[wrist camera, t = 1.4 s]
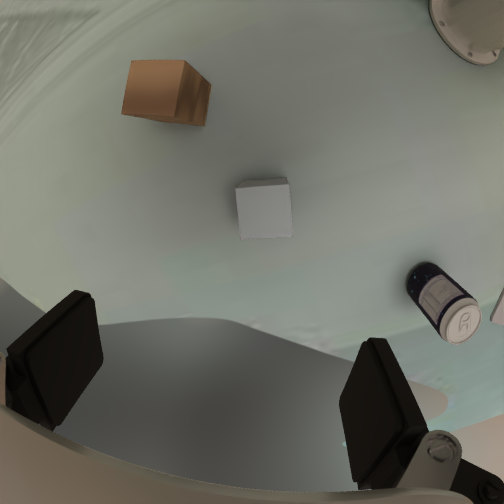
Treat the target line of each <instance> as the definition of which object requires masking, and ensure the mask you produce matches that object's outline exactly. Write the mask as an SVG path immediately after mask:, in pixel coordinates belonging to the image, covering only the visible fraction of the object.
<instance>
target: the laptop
mask: <svg viewBox="0 0 504 504" xmlns="http://www.w3.org/2000/svg"><path fill="white" fill-rule="evenodd" d="M490 319H491V321H492V322H493V323H496V324H502V325H504V289H503V291H502V293H501V296H500V298H499V300H498V302H497V304H496V306H495V308H494V310H493V312H492V314H491V317H490Z"/></svg>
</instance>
